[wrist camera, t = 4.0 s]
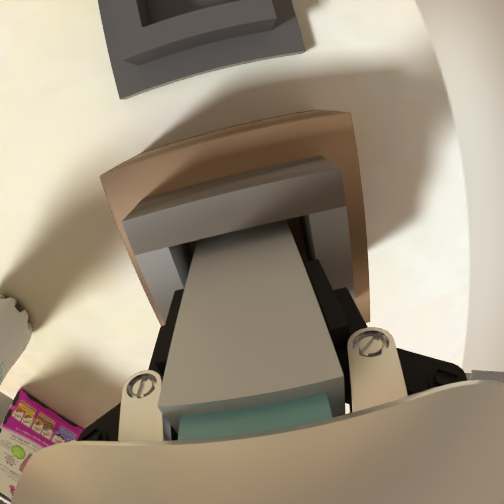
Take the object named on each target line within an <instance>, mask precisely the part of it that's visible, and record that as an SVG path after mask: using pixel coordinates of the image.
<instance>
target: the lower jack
mask: <svg viewBox="0 0 504 504" xmlns="http://www.w3.org/2000/svg"><path fill="white" fill-rule="evenodd" d="M98 4H99V9H100V14H101V20H102V25H103V29H104V34H105V39H106V44H107V48H108V53H109V57H110V61H111V66H112V70H113V74H114V78H115V82H116V86H117V90H118V94H119V98H120V99H128V98H130V97H133V96H136V95H138V94H141V93H144V92H147V91H149V90H152V89H155V88H158V87H161V86H164V85H167V84H170V83H173V82H177V81H180V80H183V79H187V78H190V77H193V76H197V75H201V74H204V73H208V72H212V71H216V70H220V69H224V68H228V67H232V66H236V65H241V64H246V63H250V62H255V61H260V60H266V59H271V58H277V57H283V56H289V55H296V54H302V53H304V52H305V49H304V45H303V41H302V37H301V33H300V30H299V26H298V22H297V19H296V15H295V12H294V9H293V5H292V2H291V0H98Z"/></svg>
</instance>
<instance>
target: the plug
mask: <svg viewBox="0 0 504 504" xmlns="http://www.w3.org/2000/svg"><path fill="white" fill-rule="evenodd" d="M157 407H158V408H159V410H160V411H161V413H162V414H163V415H164V417H165V418H166V419H167V421H168V422H169V423H170V424H171V426H172V427H173V428H174V430H175V431H176V432H177V433H178V440H190V439H204V438H215V437H224V436H233V435H241V434H249V433H256V432H262V431H269V430H275V429H280V428H286V427H291V426H296V425H301V424H306V423H311V422H316V421H320V420H324V419H329V418H333V417H337V416H341V415H345V391H344V375H343V372H342V369H341V366H340V363H339V360H338V357H337V354H336V352H335V349H334V346H333V343H332V340H331V337H330V335H329V332H328V329H327V326H326V323H325V321H324V318H323V315H322V312H321V310H320V307H319V304H318V301H317V299H316V296H315V293H314V291H313V288H312V285H311V283H310V280H309V277H308V275H307V272H306V269H305V267H304V264H303V262H302V259H301V256H300V254H299V251H298V249H297V246H296V244H295V241H294V239H293V236H292V233H291V231H290V228H289V226H288V223H287V221H286V219H285V220H281V221H277V222H272V223H268V224H263V225H259V226H255V227H250V228H246V229H242V230H237V231H233V232H229V233H225V234H220V235H216V236H212V237H208V238H204V239H200V240H198V241H197V244H196V248H195V251H194V255H193V259H192V262H191V266H190V270H189V274H188V277H187V281H186V285H185V289H184V293H183V297H182V301H181V305H180V309H179V313H178V317H177V321H176V325H175V329H174V333H173V337H172V342H171V346H170V350H169V355H168V359H167V363H166V368H165V372H164V377H163V382H162V386H161V391H160V396H159V401H158V405H157Z"/></svg>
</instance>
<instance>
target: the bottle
mask: <svg viewBox="0 0 504 504" xmlns="http://www.w3.org/2000/svg"><path fill="white" fill-rule="evenodd" d="M16 303H17V301H16V300H15V299H14V298H12V297H10V298H6V299H5V297H4V296H3V295H0V385H1V383H2V381H3V379H4V378H5V376H6V374H7V373H8V371H9V370H10V368H11V367H12V366H13V365H14V363H15V362H16V361H17V359H18V358H19V357H20V355H21V354H22V353H23V351H24V350H25V348H26V346H27V344H28V343H29V340H30V338H31V334H32V326H31V325H30V323H28V313H27V312H26V310H22V311H21V312H19V311H18V310H17V309H16V308H15V305H16Z"/></svg>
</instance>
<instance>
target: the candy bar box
mask: <svg viewBox="0 0 504 504" xmlns="http://www.w3.org/2000/svg"><path fill="white" fill-rule="evenodd" d="M83 430H84V429H83V428H81V427H79V426H77V425H76V424H74V423H72V422H71V421H69V420H67V419H66V418H64V417H62V416H61V415H59V414H57V413H56V412H54V411H53V410H51V409H50V408H48V407H46V406H45V405H43V404H42V403H40V402H39V401H37V400H36V399H34V398H33V397H32V396H30V395H29V394H27V393H26V392H25V391H23V390H22V389H19V391H18V392H17V394H16V396H15V398H14V400H13V402H12V404H11V406H10V408H9V410H8V412H7V414H6V416H5V418H4V420H3V422H2V424H1V427H0V499H1V500H2V501H4V502H6V503H7V504H11V501H12V498H13V495H14V492H15V489H16V486H17V483H18V481H19V478H20V476H21V474H22V471H23V469H24V467H25V465H26V463H27V462H28V460H29V459H30V458H31V456H32V455H33V454H34V453H35V452H37V451H39V450H41V449H43V448H45V447H48V446H51V445H54V444H59V443H65V442H70V441H72V440H75V441H78V438H79V436H80V434H81V433H82V431H83Z"/></svg>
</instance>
